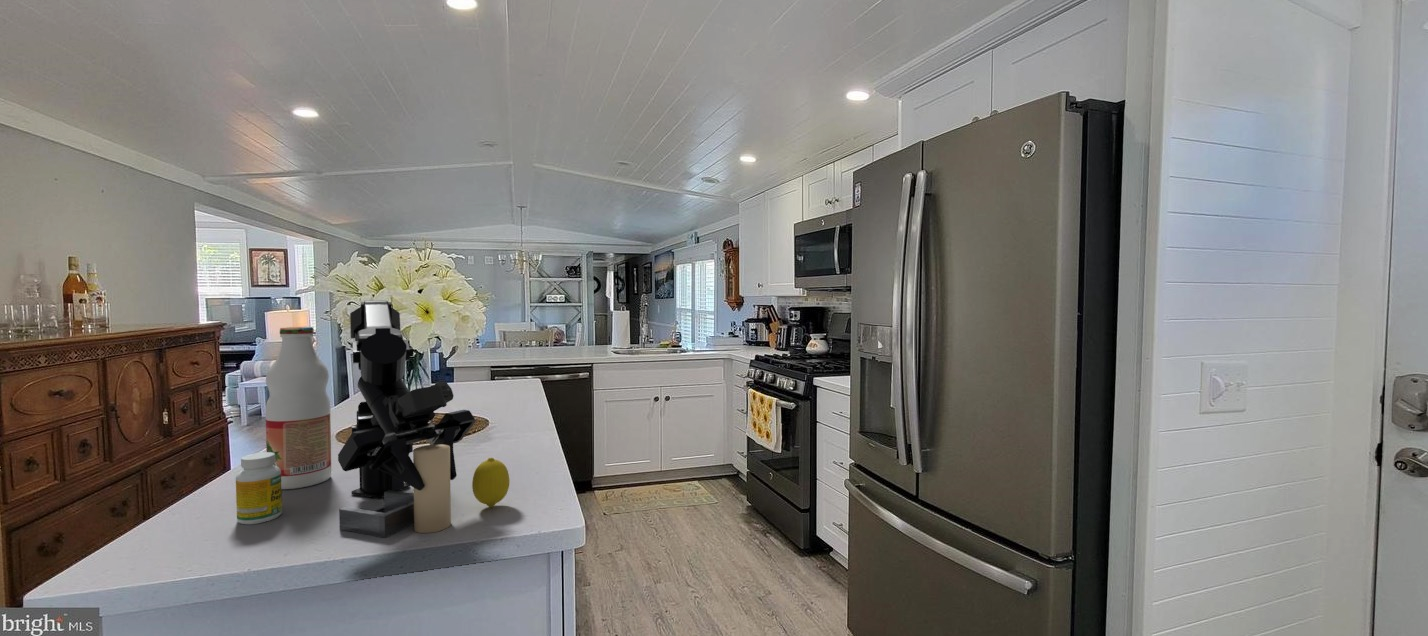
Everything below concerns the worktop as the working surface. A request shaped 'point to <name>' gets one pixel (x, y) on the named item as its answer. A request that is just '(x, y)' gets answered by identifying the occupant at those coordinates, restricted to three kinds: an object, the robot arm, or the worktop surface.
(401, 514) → the holder
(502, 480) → the lemon
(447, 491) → the paper roll
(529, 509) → the worktop surface
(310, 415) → the fruit juice
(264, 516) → the supplement bottle
